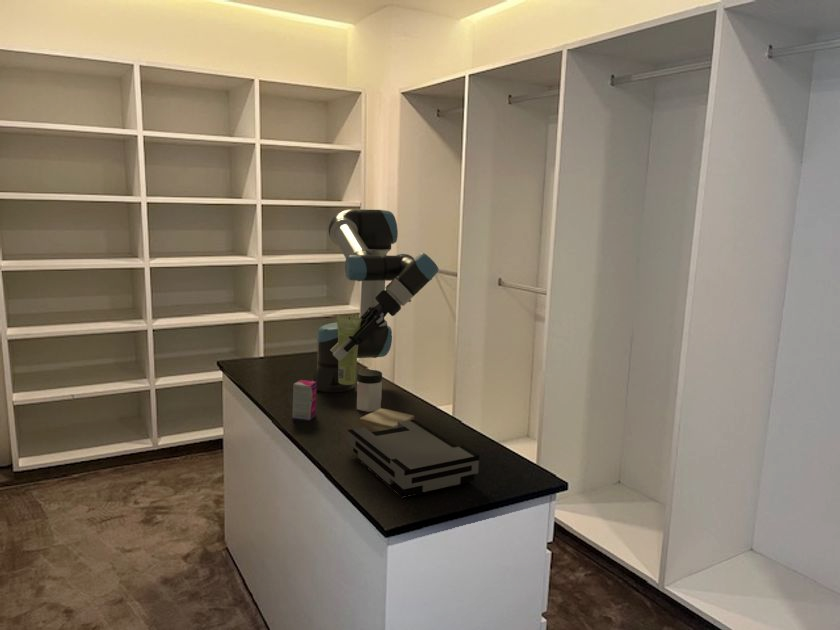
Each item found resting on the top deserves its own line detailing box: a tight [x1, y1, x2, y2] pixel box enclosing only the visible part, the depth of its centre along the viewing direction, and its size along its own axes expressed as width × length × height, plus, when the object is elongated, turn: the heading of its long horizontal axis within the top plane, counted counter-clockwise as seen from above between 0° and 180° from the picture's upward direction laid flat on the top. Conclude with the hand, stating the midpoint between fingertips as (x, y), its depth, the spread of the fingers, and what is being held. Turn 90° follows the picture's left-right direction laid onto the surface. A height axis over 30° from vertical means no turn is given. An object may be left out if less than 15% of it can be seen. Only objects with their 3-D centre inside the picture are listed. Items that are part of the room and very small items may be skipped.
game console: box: [346, 418, 480, 498], centre depth 163 cm, size 21×32×8 cm, turn 30°
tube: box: [336, 314, 362, 385], centre depth 181 cm, size 6×5×20 cm
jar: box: [356, 369, 383, 413], centre depth 210 cm, size 9×8×12 cm
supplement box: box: [291, 379, 317, 422], centre depth 198 cm, size 6×6×12 cm
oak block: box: [358, 407, 415, 432], centre depth 191 cm, size 12×12×4 cm
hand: (334, 355), depth 180 cm, fingers closed on tube, 5 cm apart
